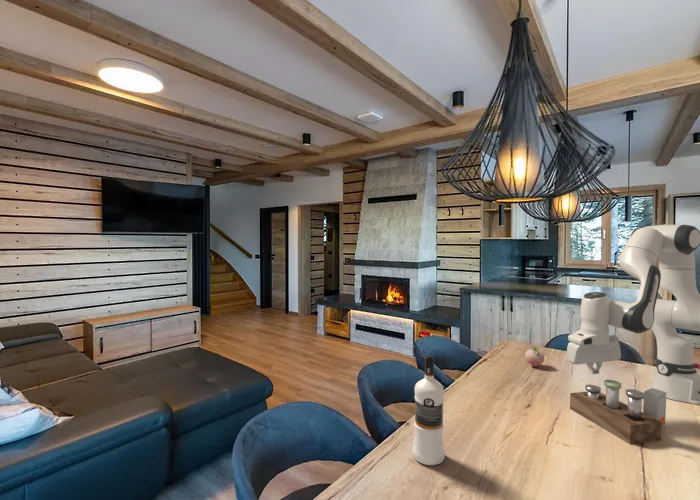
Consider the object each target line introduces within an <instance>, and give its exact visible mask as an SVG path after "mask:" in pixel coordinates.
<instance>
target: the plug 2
mask: <svg viewBox="0 0 700 500" xmlns="http://www.w3.org/2000/svg"><path fill="white" fill-rule="evenodd" d="M625 395H626V396H627V405H628V407H627V417H628V418H629V419H631V420H633V421H641V412H642V411H643V408H642V407H643V406H642V403H643V402H642V401H643V400H644V391H641V390H637V389H633V388H632V389H631V388H628V389H625Z"/></svg>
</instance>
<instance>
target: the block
mask: <svg viewBox="0 0 700 500" xmlns="http://www.w3.org/2000/svg"><path fill="white" fill-rule="evenodd" d="M569 395H570V396H569V403H570V404H569V409H570V410H572V411H573V412H575V413H576V414H579V415H580V416H582V417H583V418H585V419H587V420H588V421H590V422H592V423H594V424H595V425H597V426H598V427H600V428H601V429H604V430H605V431H607V432H609V433H610V434H612V435H614V436H616V437H617V438H619V439H621V440H622V441H624V442H626V443H627V444H629V445H633V444H641V443H642V444H643V443H650V442H657V441H658V442H659V441H662V430H663V427H662V422H661V421H659V420H657V419H655V418H653V417H651V416H649V415H647V414H645V413H643V411H641V421H633V420H631V419H629V418H628V417H627V407H628V404H625V403H624V402H622V401H621V400H619V409H614V410H612V409H610V408H608V407H606V393H603V392H601V393H599V399H591V398H589V397H587V391H578V392H570V393H569Z"/></svg>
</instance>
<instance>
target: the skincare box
mask: <svg viewBox="0 0 700 500" xmlns="http://www.w3.org/2000/svg"><path fill="white" fill-rule="evenodd" d="M643 393H644V399H643V406H642V407H643V408H642V412H643V413H645V414H647V415H649V416H651V417H653V418H655V419H657V420H659V421H661V422H662V428H663V427H665V426H666V412H667V411H666V410H667V398H666V392H664V391H661V390H657V389H654V388H652V389H651V388H648V389H647V390H644V391H643Z"/></svg>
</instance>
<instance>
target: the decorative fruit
mask: <svg viewBox="0 0 700 500" xmlns="http://www.w3.org/2000/svg"><path fill="white" fill-rule="evenodd" d="M524 359H525V361H526V362H527V363H528V364H530V365H531V366H533V367H534V368H535V367H540V366H541V365H542V364H543V363H544V361H545V355H544V354H543V353H542V351H540V350H539V349H538V348H537V347H531V348H529V349H528V350H526V351H525V353H524Z"/></svg>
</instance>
